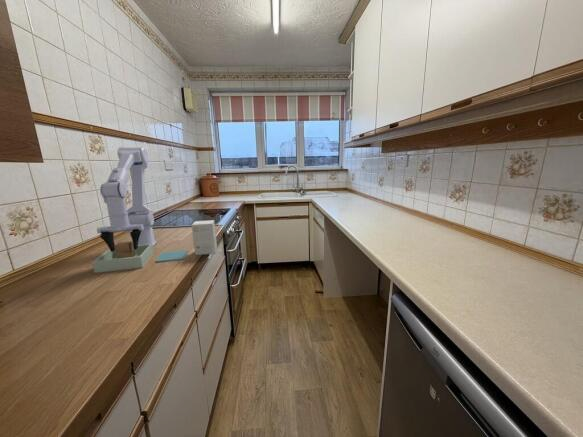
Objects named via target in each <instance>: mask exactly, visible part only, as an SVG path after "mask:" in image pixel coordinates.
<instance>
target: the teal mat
mask: <svg viewBox="0 0 583 437" xmlns="http://www.w3.org/2000/svg"><path fill="white" fill-rule="evenodd" d="M187 254H188V249H182V250H179V249H178V250H171V251H161V253H160V254H159V256H158V257H157V259H155V263H163V262H170V261H171V262H172V261H180V260H185V258H186V256H187Z"/></svg>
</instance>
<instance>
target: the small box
mask: <svg viewBox="0 0 583 437" xmlns="http://www.w3.org/2000/svg"><path fill="white" fill-rule="evenodd" d="M191 230H192V232H191V233H192V239H193V248H194V255H195V256H200V255H201V256H202V255H214V254H216V251H217V249H218V244H217V234H216V232H217V231H216V224H215V220H214V219H212V220H211V219H210V220H195V221H194V222H193V223H192V224H191Z"/></svg>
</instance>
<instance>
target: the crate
mask: <svg viewBox="0 0 583 437" xmlns="http://www.w3.org/2000/svg"><path fill="white" fill-rule="evenodd" d="M134 253H135V256H134V257H128V258H118V259H117V257H116V252H115V250H114V251H113V252H111V250H110V248H109V249H108V250H106V251H105V252H104V253H102V254H101V255H99V256H98V257H97V258H95V259H94V260H93V261H92V262H91V263H92V266H93V273H95V274H98V273H105V272H114V271H122V270H123V271H124V270H131V269H139V268H140V269H141V268H142V269H143V267H144V266H145V265H146V264H147V263H148V262H149V260H150V259H151V257H152V256H153V255H154V254H155V252H154V246H153V244H147V245H138V248H137V249H134Z"/></svg>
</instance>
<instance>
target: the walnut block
mask: <svg viewBox="0 0 583 437" xmlns="http://www.w3.org/2000/svg"><path fill="white" fill-rule="evenodd" d="M114 247H115V252H116V257H117V259H118V258H128V257H134V256H135V253H134V247H133V241H132V240H130V241H127V240H126V241H119V242H118V243H116V244H115V246H114Z"/></svg>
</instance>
